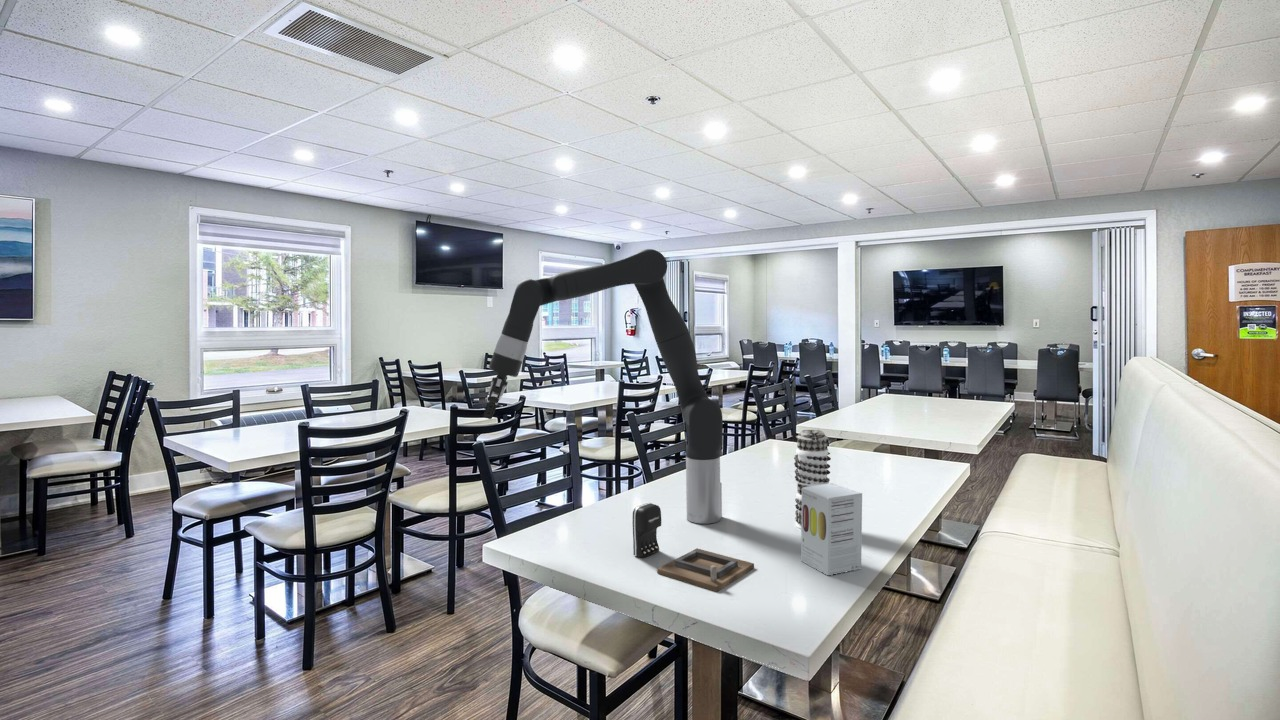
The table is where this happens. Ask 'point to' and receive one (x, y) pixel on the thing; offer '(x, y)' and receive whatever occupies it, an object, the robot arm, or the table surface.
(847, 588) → the table surface
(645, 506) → the battery charger
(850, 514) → the supplement box
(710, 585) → the locating plate
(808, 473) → the decorative candle
